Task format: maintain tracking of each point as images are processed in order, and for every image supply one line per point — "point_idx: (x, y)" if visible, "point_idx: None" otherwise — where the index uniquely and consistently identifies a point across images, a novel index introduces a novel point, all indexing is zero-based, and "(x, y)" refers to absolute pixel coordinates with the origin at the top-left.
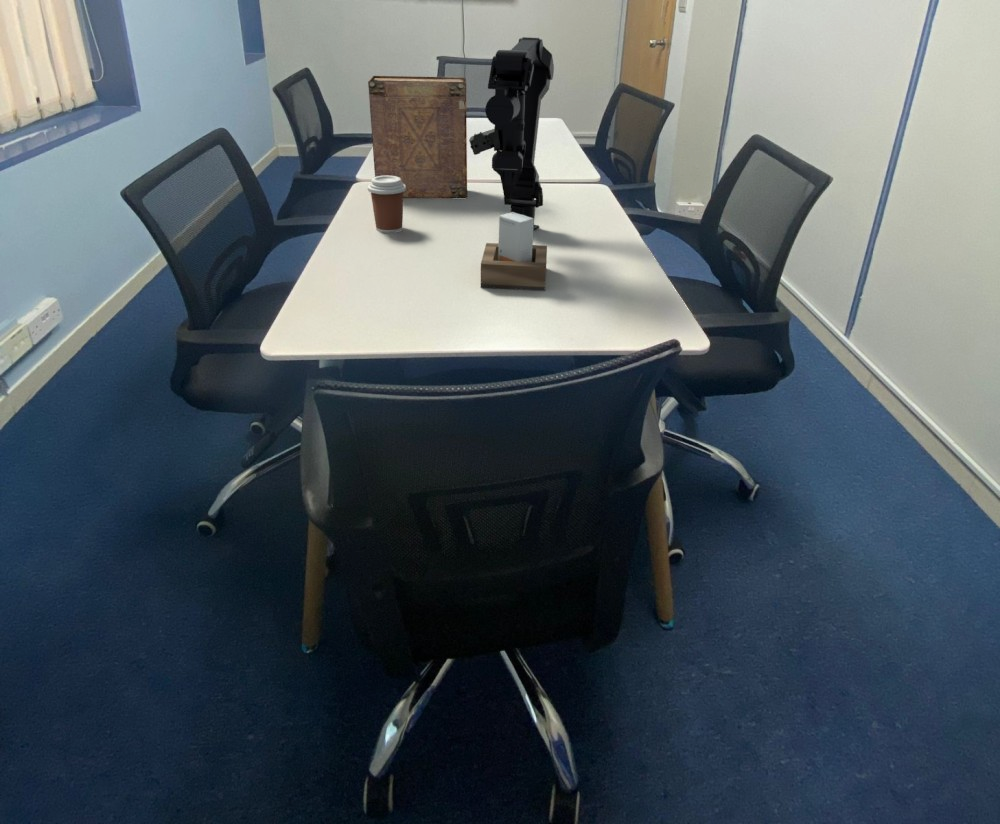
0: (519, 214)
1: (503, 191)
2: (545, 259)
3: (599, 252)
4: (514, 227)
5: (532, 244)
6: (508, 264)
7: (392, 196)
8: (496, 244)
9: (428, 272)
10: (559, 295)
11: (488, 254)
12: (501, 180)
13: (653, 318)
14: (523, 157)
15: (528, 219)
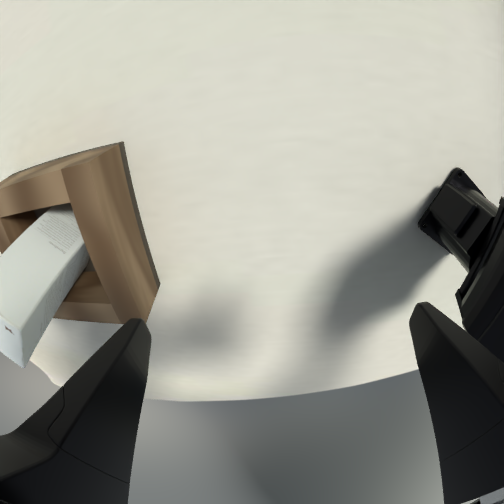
0: (18, 345)
1: (96, 352)
2: (63, 317)
3: (289, 358)
4: None
5: (53, 315)
6: (3, 252)
7: None
8: (88, 198)
9: (48, 26)
10: None
11: (18, 197)
12: (39, 410)
13: (70, 374)
14: (445, 501)
15: (8, 357)
